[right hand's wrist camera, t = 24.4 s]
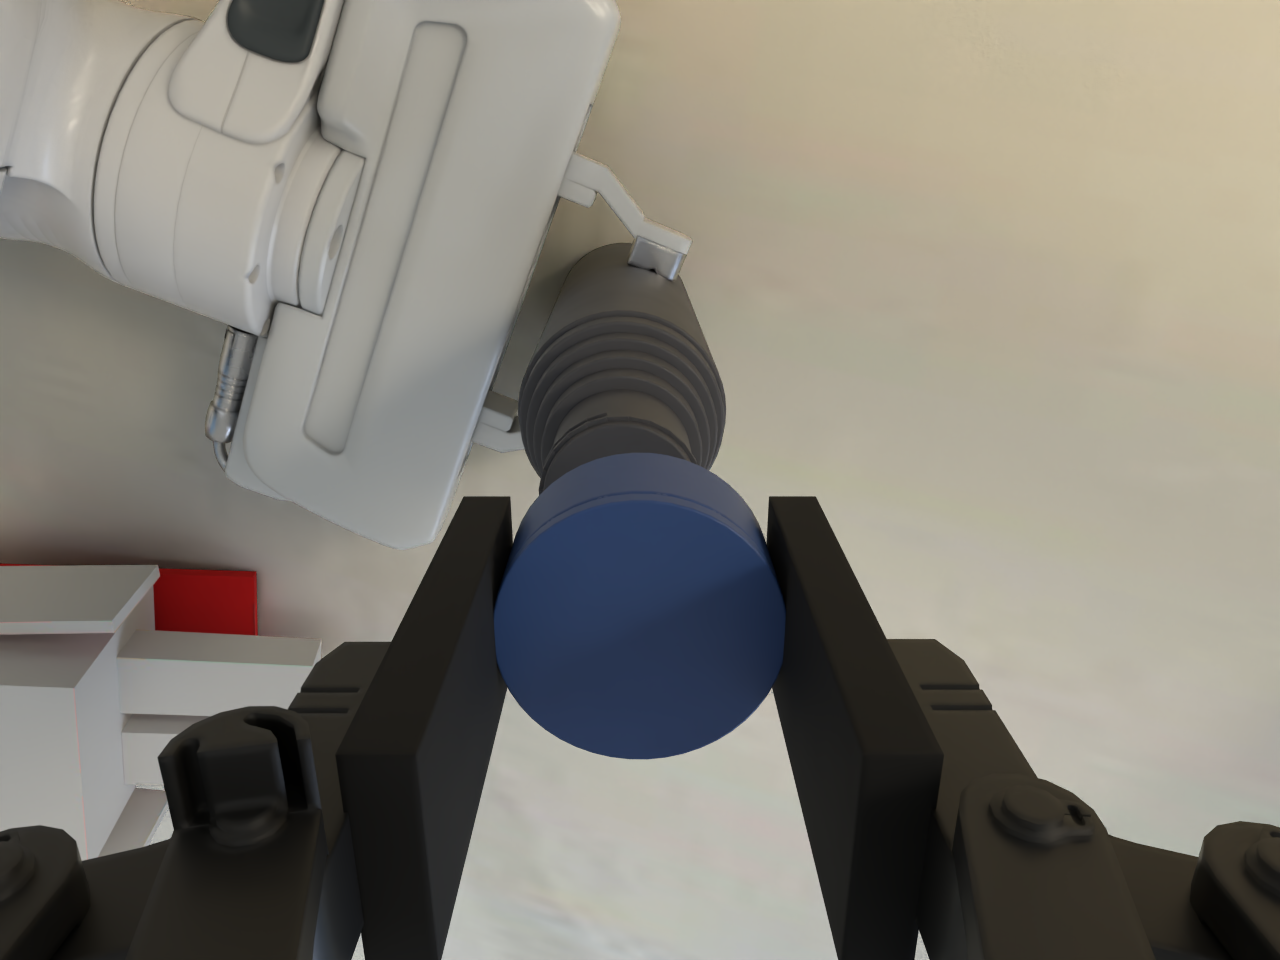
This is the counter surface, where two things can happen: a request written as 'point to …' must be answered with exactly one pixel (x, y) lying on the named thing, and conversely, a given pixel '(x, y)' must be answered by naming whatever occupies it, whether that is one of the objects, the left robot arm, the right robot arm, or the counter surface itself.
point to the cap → (639, 608)
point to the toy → (122, 687)
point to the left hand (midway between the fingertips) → (647, 348)
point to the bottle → (619, 372)
